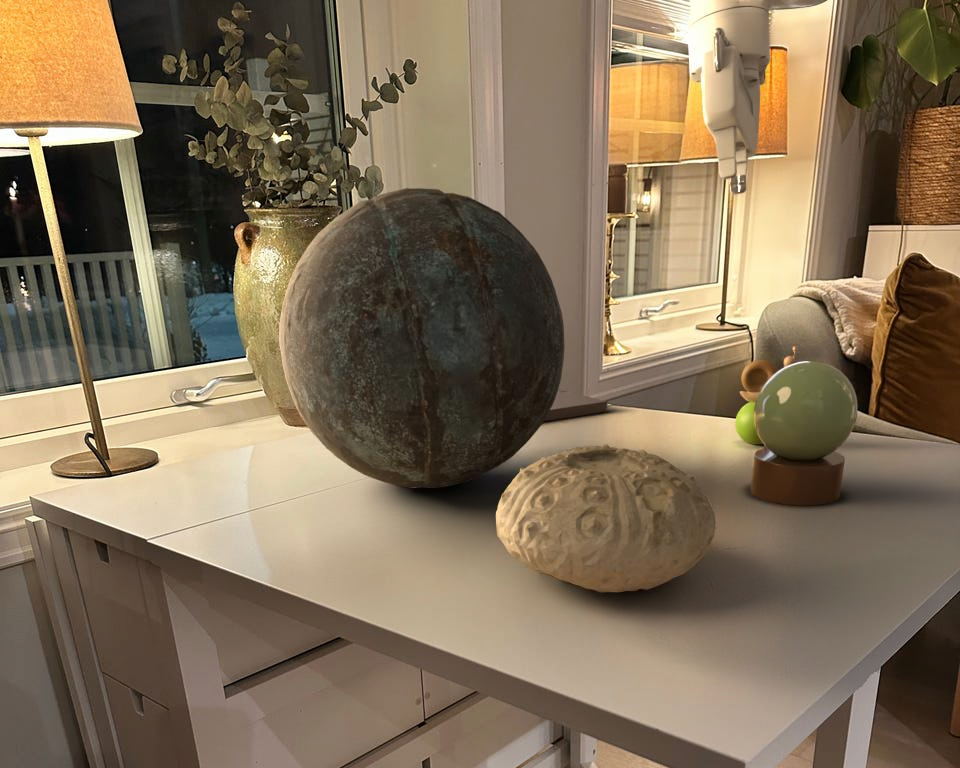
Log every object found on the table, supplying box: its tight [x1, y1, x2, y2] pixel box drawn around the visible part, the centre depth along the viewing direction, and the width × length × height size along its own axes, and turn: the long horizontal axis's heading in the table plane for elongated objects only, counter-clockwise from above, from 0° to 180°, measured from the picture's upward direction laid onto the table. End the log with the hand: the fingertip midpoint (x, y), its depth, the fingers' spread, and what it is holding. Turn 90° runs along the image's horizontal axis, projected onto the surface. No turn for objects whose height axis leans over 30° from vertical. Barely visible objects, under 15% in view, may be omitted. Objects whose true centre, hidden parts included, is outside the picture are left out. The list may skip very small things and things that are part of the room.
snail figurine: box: [734, 345, 798, 445], centre depth 114 cm, size 5×6×12 cm
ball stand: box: [750, 360, 859, 506], centre depth 94 cm, size 10×10×14 cm
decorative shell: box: [495, 443, 716, 593], centre depth 75 cm, size 18×18×10 cm
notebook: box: [543, 388, 608, 422], centre depth 136 cm, size 13×2×21 cm
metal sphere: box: [278, 187, 565, 489], centre depth 97 cm, size 30×30×30 cm
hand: (733, 185), depth 107 cm, fingers open, 8 cm apart
